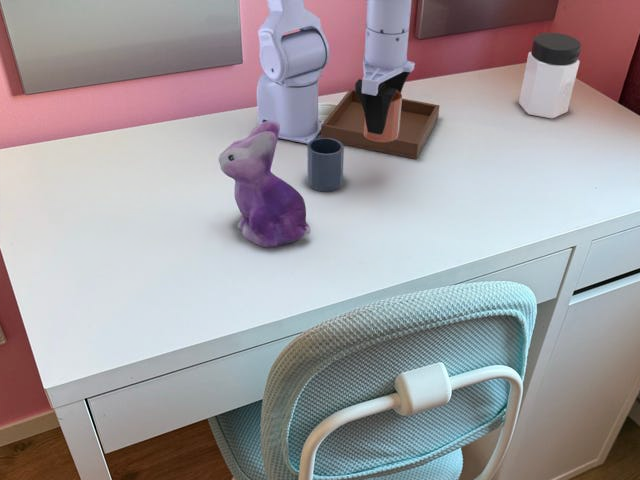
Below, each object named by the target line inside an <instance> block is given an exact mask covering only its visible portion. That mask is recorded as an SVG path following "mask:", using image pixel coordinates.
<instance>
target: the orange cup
mask: <svg viewBox="0 0 640 480" xmlns="http://www.w3.org/2000/svg"><path fill="white" fill-rule="evenodd" d="M389 88H390V87H389ZM402 98H403V95H402V91H401V92H399V91H398V90H397V92H396V94H395V95H394V97H393V99H392V101H391V104H390V107H389V110H388V114H387V119H386V124H385V128H384V130H383V133H382V134H381V135H380V134H375V133H370V132H368V130H367V126H366V120H365V115H364V114H363V135H364V136H365V137H366V138H367V139H369V140H371V141H375V142H390V141H393V140H395V139H397V137H398V134H399V127H400V116H401V104H402Z"/></svg>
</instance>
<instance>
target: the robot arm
mask: <svg viewBox="0 0 640 480" xmlns="http://www.w3.org/2000/svg"><path fill="white" fill-rule="evenodd" d="M266 3H267V7H268V12H269V14H268V16H267V17H266V19H265V20H264V21H263V22H262V24H261V26H260V27H259V29H258V30H257V35H258V36H257V37H258V40H259V62H260V66H261V68H262V70H263V72H262V73H261V74H260V76H259V78H258V81H257V86H256V106H257V107H256V108H257V126H259V125H260V124H262V123H263V122H266V121H273V122H277V123H279V125H280V130H279V135H278V139H282V140H287V141H292V142H298V143H301V144H306V145H307V144H308V143H309V142H310V141H311V140H314V139H316V138H318V136H319V135H320V134H321V125H322V124H323V123H324V121H325V120H322V119H319V78H320V77H322V76H323V69H325V68H326V67H328V64H329V61H330V55H331V54H330V53H331V52H330V51H331V49H330V45H329V41H328V39H327V38H326V37H327V36H326V35H325V33H324V32H323V28H322V24H321V19H320V18H319V17H318V16H317V15H315V14H314V13H313V12H311V11H310V10H308V9H307V8H306V7H305V1H304V0H266ZM411 11H412V0H366V17H365V19H366V22H365V37H364V39H365V41H364V55H363V57H362V70H363V71H362V72H363V77H362V79H360V78H359V79H358V80H357V81H356V82H355V84H354V89H355V92H356V93H357V95H358V97H359V99H360V101H361V104H362V107H363V110H364V115H365V120H366V126H367V130H368V132H370V133H375V134H380V135H381V134H382V133H383V130H384V128H385V124H386V119H387V114H388V110H389V107H390V104H391V101H392V99H393V97H394V95H395V94H396V92H397V90H398V91H399V92H401V93H402V91H403V88H404V86H405V83H406V81H407V79H408V77H409V75H410V74H411V73H412V72H413V71H414V70H415V65H416V63H415V62H414V61H410V60H408V47H409V36H410V35H409V34H410V24H411V23H410V22H411V13H412V12H411ZM297 30H299V31H297ZM293 31H295V32H293ZM290 32H291V33H290ZM389 87H390V88H389Z"/></svg>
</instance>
